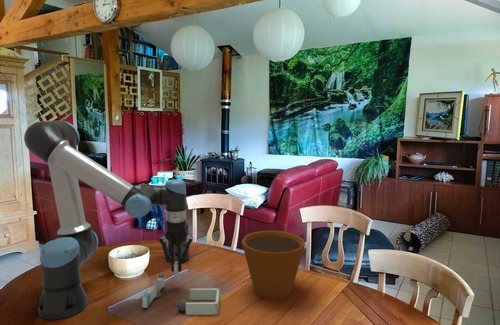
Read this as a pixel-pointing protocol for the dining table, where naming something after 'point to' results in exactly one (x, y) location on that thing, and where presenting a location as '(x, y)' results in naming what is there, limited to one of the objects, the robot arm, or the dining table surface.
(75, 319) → the dining table surface
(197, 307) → the box
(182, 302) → the ball
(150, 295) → the teal-tipped knobbed bar
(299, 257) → the flower pot
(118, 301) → the dining table surface
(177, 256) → the canister
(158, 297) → the pivot base
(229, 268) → the dining table surface
